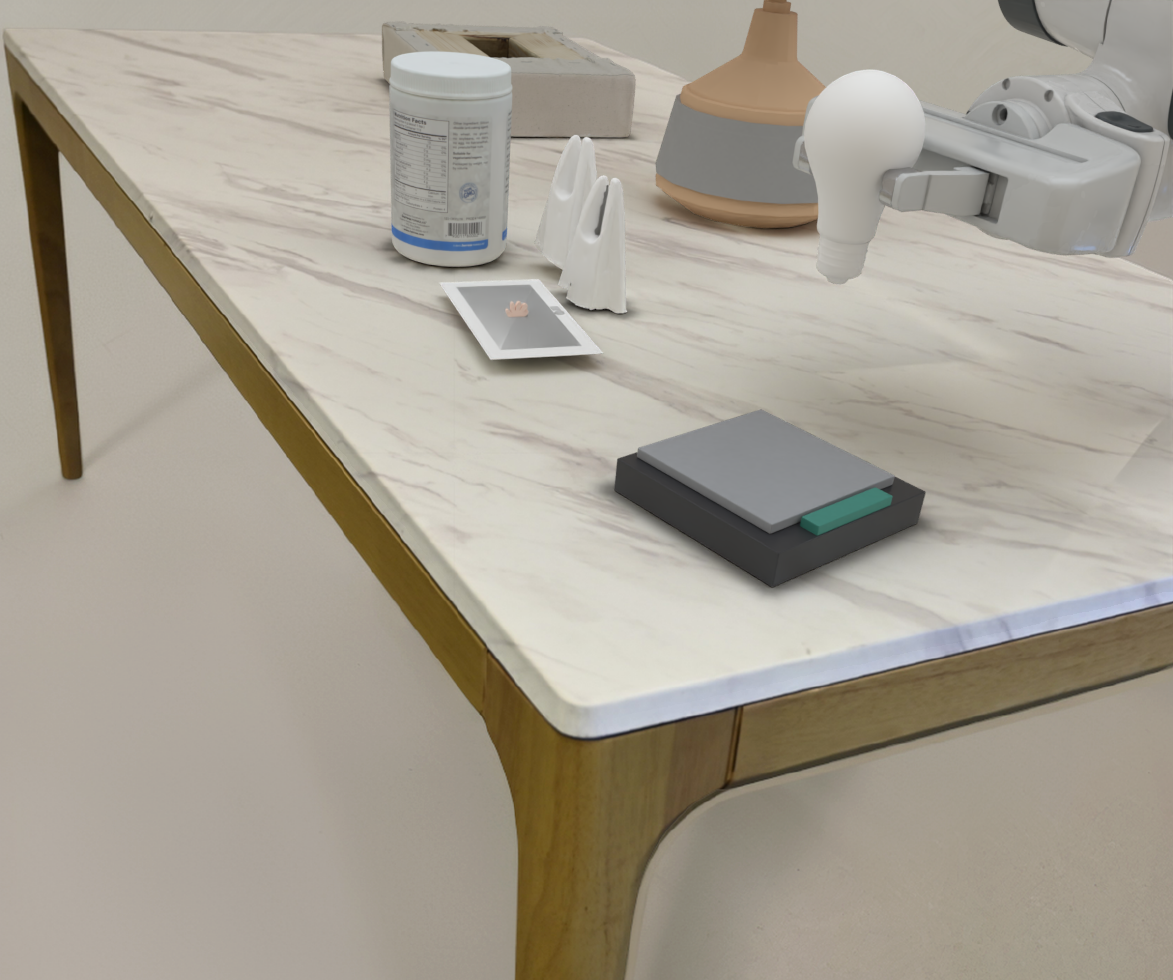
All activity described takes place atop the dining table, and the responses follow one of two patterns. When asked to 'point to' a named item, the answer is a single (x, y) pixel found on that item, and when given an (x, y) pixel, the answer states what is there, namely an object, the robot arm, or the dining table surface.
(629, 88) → the box
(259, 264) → the dining table surface
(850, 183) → the lightbulb
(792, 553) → the scale
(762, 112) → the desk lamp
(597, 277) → the shaker set
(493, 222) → the supplement tub
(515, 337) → the touchpad
